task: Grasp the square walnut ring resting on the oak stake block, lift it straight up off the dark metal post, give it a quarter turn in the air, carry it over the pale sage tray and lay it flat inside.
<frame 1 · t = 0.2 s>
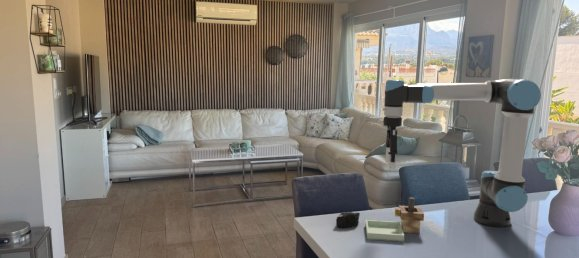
hand: (390, 165, 178), 27 cm above the table, fingers open, 13 cm apart
stake: (409, 229, 177), on the table
mineral: (346, 225, 183), on the table
tray: (383, 233, 173), on the table
ring: (410, 216, 177), point 6 cm above the table, touching stake
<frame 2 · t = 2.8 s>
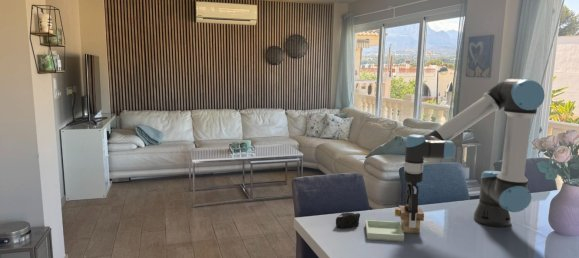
hand: (410, 222, 177), 3 cm above the table, fingers closed on ring, 9 cm apart
ring: (410, 216, 177), point 6 cm above the table, touching gripper, stake
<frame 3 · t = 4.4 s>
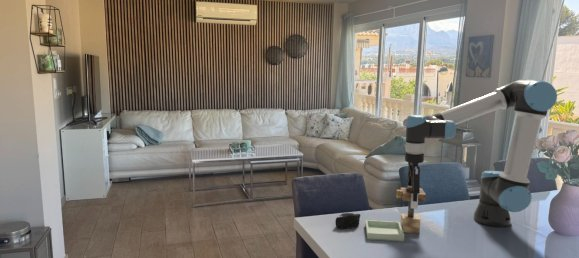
hand: (412, 204, 176), 11 cm above the table, fingers closed on ring, 9 cm apart
ring: (412, 197, 175), point 14 cm above the table, touching gripper
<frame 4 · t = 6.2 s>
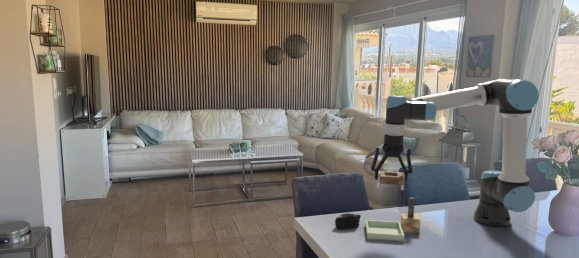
hand: (390, 188, 170), 20 cm above the table, fingers closed on ring, 9 cm apart
ring: (390, 181, 170), point 23 cm above the table, touching gripper
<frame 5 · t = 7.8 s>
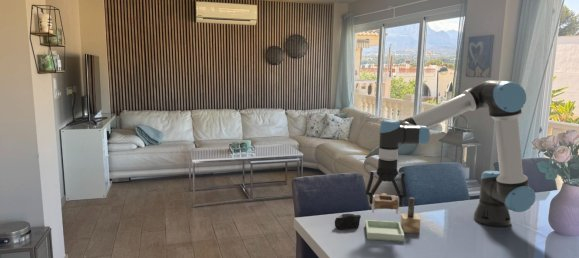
hand: (384, 211, 171), 10 cm above the table, fingers closed on ring, 9 cm apart
ring: (385, 205, 170), point 13 cm above the table, touching gripper
when the fingers open (2 cm above the table, at t = 9.4 s): ring drops 5 cm, resting on tray.
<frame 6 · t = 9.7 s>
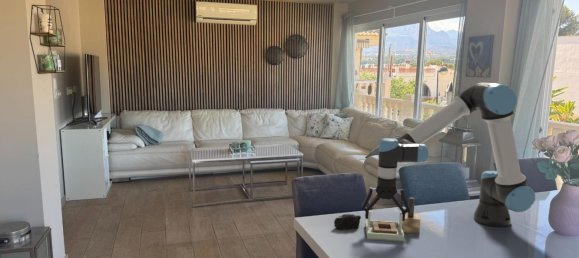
hand: (384, 227, 172), 3 cm above the table, fingers open, 12 cm apart
ring: (384, 233, 172), point 1 cm above the table, touching tray
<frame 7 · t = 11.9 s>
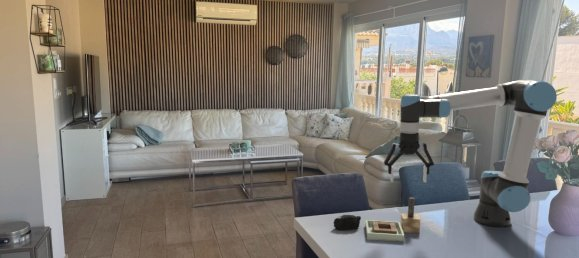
hand: (408, 181, 175), 21 cm above the table, fingers open, 13 cm apart
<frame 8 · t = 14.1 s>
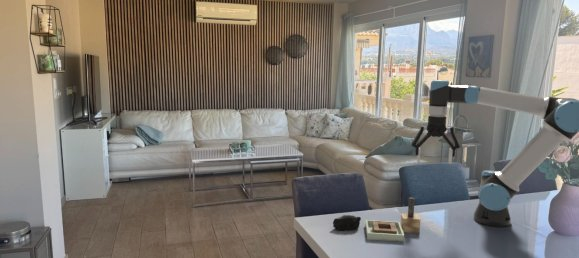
hand: (434, 163, 185), 27 cm above the table, fingers open, 13 cm apart
at the end: ring inside the target area on the tray (0.0 cm from its centre), point 0.6 cm above the tray's base; ring tilted 0°; ring touching tray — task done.
